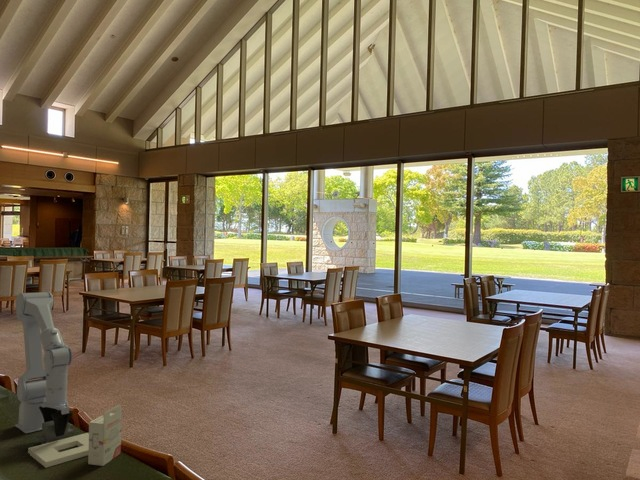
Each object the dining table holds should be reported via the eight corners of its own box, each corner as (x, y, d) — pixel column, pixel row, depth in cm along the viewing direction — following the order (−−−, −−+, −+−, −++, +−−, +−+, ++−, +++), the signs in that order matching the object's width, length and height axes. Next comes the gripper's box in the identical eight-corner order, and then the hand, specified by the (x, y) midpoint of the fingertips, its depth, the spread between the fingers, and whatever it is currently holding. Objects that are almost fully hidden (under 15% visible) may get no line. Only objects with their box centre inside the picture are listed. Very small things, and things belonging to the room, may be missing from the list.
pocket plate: (27, 453, 142) (28, 448, 142) (87, 437, 155) (87, 432, 155) (45, 467, 134) (45, 462, 134) (107, 449, 147) (107, 444, 147)
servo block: (34, 444, 149) (34, 422, 149) (68, 435, 156) (69, 414, 156) (39, 448, 146) (40, 426, 146) (74, 439, 154) (74, 418, 154)
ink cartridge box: (106, 452, 145) (108, 401, 145) (121, 454, 144) (123, 403, 144) (86, 464, 137) (88, 411, 137) (102, 466, 136) (104, 412, 136)
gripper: (33, 384, 153) (31, 429, 153) (52, 395, 144) (50, 442, 143) (57, 380, 158) (55, 423, 158) (77, 390, 149) (75, 435, 149)
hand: (54, 432), depth 151 cm, fingers open, 7 cm apart
